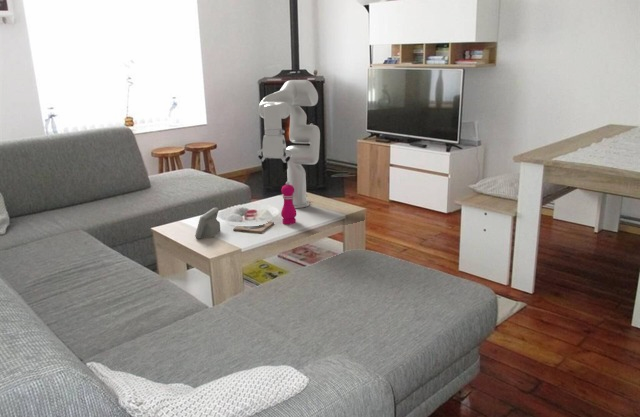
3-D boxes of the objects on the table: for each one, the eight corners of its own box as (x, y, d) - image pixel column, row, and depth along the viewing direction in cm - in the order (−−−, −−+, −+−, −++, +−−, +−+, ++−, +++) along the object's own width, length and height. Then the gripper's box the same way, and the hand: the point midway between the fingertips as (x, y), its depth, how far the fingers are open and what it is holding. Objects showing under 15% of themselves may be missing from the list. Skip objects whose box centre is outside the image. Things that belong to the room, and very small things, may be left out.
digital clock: (211, 227, 249) (209, 205, 246) (227, 230, 245) (225, 207, 242) (189, 238, 235) (187, 215, 232) (206, 241, 231) (204, 217, 228)
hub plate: (247, 221, 256) (247, 219, 256) (274, 224, 252) (273, 221, 251) (233, 230, 244) (233, 228, 243) (261, 233, 239) (261, 230, 239)
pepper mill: (278, 223, 252) (276, 182, 246) (286, 219, 258) (284, 179, 253) (291, 225, 249) (290, 183, 243) (299, 221, 255) (298, 180, 249)
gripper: (294, 131, 236) (296, 169, 241) (259, 130, 242) (261, 167, 247) (288, 134, 230) (289, 173, 235) (251, 133, 235) (254, 171, 240)
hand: (275, 170), depth 241 cm, fingers open, 9 cm apart
